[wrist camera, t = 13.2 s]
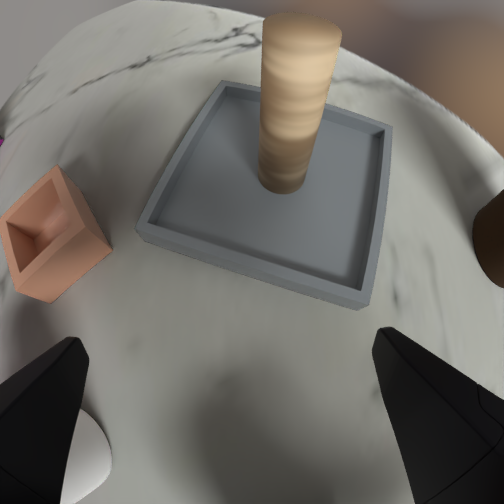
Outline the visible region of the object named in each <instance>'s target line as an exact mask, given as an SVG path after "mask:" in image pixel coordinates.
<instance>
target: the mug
mask: <svg viewBox="0 0 504 504" xmlns="http://www.w3.org/2000/svg"><path fill="white" fill-rule="evenodd" d="M111 467H112V455H111V449H110V446H109V443H108V441H107V438H106V436H105V434H104V433H103V431H102V429H101V428H100V427H99V425H98V424H97V423H96V422H95V420H94V419H93V418H92V417H91V416H90V415H89V414H87V413H86V412H85V411H83V410H82V409H80V411H79V414H78V418H77V422H76V426H75V430H74V434H73V438H72V442H71V447H70V451H69V456H68V461H67V466H66V471H65V476H64V482H63V488H62V494H61V501H60V504H74V503H76V502H77V501H79V500H80V499H82V498H83V497H85V496H86V495H87V494H89V493H90V492H92V491H93V490H94V489H96V488H97V487H98V486H100V485H101V484H102V483H103V482H104V481H105V480H106V478H107V477H108V476H109V473H110V471H111Z"/></svg>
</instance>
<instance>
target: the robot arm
mask: <svg viewBox="0 0 504 504" xmlns="http://www.w3.org/2000/svg"><path fill="white" fill-rule="evenodd" d="M372 356H373V360H374V364H375V368H376V372H377V377H378V381H379V385H380V390H381V394H382V398H383V401H384V404H385V407H386V410H387V412H388V415H389V418H390V421H391V424H392V427H393V430H394V433H395V436H396V440H397V443H398V446H399V449H400V452H401V456H402V459H403V462H404V466H405V469H406V472H407V476H408V479H409V483H410V487H411V490H412V494H413V498H414V502H415V504H504V400H503V399H501V398H499V397H498V396H496V395H495V394H493V393H492V392H490V391H488V390H487V389H485V388H484V387H482V386H481V385H479V384H477V383H476V382H475V381H473V380H472V379H470V378H469V377H467V376H466V375H464V374H463V373H461V372H460V371H458V370H457V369H455V368H454V367H452V366H451V365H449V364H448V363H446V362H445V361H443V360H442V359H440V358H439V357H437V356H436V355H434V354H433V353H431V352H430V351H428V350H427V349H425V348H424V347H422V346H421V345H419V344H418V343H416V342H414V341H413V340H411V339H410V338H408V337H407V336H405V335H404V334H402V333H401V332H399V331H398V330H396V329H395V328H393V327H384V328H380V329H378V331H377V333H376V337H375V341H374V344H373V348H372ZM88 367H89V356H88V354H87V352H86V350H85V348H84V346H83V344H82V341H81V340H80V339H79V338H78V337H66V338H65V339H63V340H62V341H61V342H59V343H58V344H56V345H55V346H53V347H52V348H50V349H49V350H48V351H46V352H45V353H43V354H42V355H40V356H39V357H38V358H36V359H35V360H33V361H32V362H31V363H29V364H28V365H26V366H25V367H24V368H22V369H21V370H19V371H18V372H17V373H15V374H14V375H12V376H11V377H10V378H8V379H7V380H6V381H4V382H3V383H1V384H0V504H60V501H61V494H62V488H63V482H64V476H65V471H66V466H67V461H68V456H69V451H70V447H71V442H72V438H73V434H74V430H75V426H76V422H77V418H78V414H79V411H80V407H81V403H82V398H83V392H84V387H85V382H86V376H87V371H88Z"/></svg>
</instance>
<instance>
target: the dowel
mask: <svg viewBox="0 0 504 504" xmlns="http://www.w3.org/2000/svg"><path fill="white" fill-rule="evenodd" d="M341 38H342V32H341V30H340V29H339V28H338V27H337V26H336V25H335V24H333V23H332V22H330V21H328V20H326V19H323V18H321V17H318V16H314V15H310V14H305V13H296V12H286V13H278V14H274V15H271V16H269V17H267V18H266V19H265V20H264V21H263V33H262V65H261V96H260V125H259V154H258V178H259V181H260V183H261V184H262V186H263V187H264V188H266V189H267V190H269V191H270V192H273V193H276V194H290V193H293V192H295V191H297V190H298V189H299V188H301V186H302V185H303V183H304V180H305V176H306V173H307V169H308V166H309V162H310V159H311V155H312V151H313V148H314V144H315V140H316V137H317V133H318V129H319V125H320V122H321V118H322V114H323V110H324V106H325V102H326V99H327V95H328V91H329V87H330V83H331V79H332V75H333V71H334V67H335V63H336V59H337V54H338V50H339V46H340V42H341Z"/></svg>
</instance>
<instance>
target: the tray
mask: <svg viewBox="0 0 504 504" xmlns="http://www.w3.org/2000/svg"><path fill="white" fill-rule="evenodd" d="M260 96H261V87H257V86H252V85H246V84H241V83H235V82H229V81H223V80H222V81H221V82H220V84H219V85H218V86H217V88H216V89H215V91H214V92H213V94H212V95H211V96H210V98H209V99H208V101H207V102H206V104H205V105H204V107H203V108H202V110H201V111H200V113H199V115H198V116H197V118H196V119H195V121H194V122H193V124H192V125H191V127H190V129H189V130H188V132H187V133H186V135H185V137H184V138H183V140H182V142H181V143H180V145H179V147H178V148H177V150H176V152H175V153H174V155H173V157H172V158H171V160H170V162H169V164H168V165H167V167H166V169H165V171H164V173H163V174H162V176H161V178H160V180H159V182H158V183H157V185H156V187H155V189H154V191H153V193H152V195H151V196H150V198H149V200H148V202H147V204H146V206H145V208H144V210H143V212H142V214H141V216H140V218H139V220H138V222H137V224H136V226H135V228H134V229H135V230H136V232H137V233H138V234H139V235H140V236H141V237H142V239H143V240H144V241H146V242H149V243H152V244H155V245H157V246H160V247H163V248H166V249H169V250H172V251H175V252H178V253H180V254H183V255H186V256H189V257H192V258H195V259H198V260H201V261H204V262H207V263H210V264H213V265H216V266H219V267H222V268H225V269H228V270H231V271H234V272H237V273H240V274H243V275H246V276H249V277H252V278H255V279H258V280H261V281H264V282H267V283H270V284H273V285H277V286H280V287H283V288H286V289H289V290H292V291H295V292H298V293H302V294H305V295H308V296H311V297H314V298H318V299H321V300H324V301H327V302H330V303H334V304H337V305H340V306H343V307H347V308H350V309H353V310H360V309H362V308H364V307H366V306H368V305H369V302H370V298H371V293H372V288H373V284H374V279H375V274H376V269H377V263H378V258H379V252H380V246H381V240H382V233H383V227H384V220H385V212H386V204H387V196H388V186H389V176H390V164H391V149H392V128H393V127H392V126H389V125H387V124H384V123H382V122H379V121H376V120H374V119H371V118H368V117H365V116H363V115H360V114H357V113H354V112H351V111H348V110H345V109H342V108H339V107H335V106H332V105H329V104H326V103H325V106H324V110H323V114H322V118H321V122H320V125H319V129H318V133H317V137H316V140H315V144H314V148H313V151H312V155H311V159H310V162H309V166H308V169H307V173H306V176H305V180H304V183H303V185H302V186H301V188H299V189H298V190H297V191H295V192H293V193H290V194H276V193H273V192H270V191H269V190H267V189H266V188H264V187H263V186H262V184H261V183H260V181H259V178H258V154H259V125H260Z"/></svg>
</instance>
